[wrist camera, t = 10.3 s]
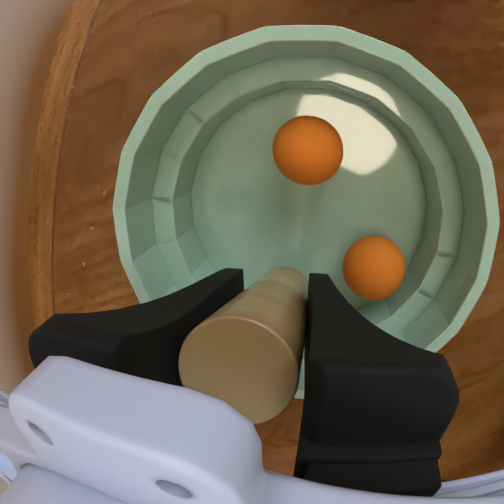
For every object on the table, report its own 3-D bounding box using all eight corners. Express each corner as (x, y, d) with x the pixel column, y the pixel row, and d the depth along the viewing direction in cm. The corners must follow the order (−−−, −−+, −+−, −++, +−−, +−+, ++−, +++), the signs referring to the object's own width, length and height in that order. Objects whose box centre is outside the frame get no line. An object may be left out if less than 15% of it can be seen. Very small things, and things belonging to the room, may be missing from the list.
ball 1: (340, 160, 14) (342, 201, 12) (278, 158, 14) (271, 198, 13) (342, 105, 12) (347, 139, 10) (273, 104, 12) (264, 136, 11)
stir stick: (307, 321, 14) (288, 435, 6) (255, 314, 15) (176, 411, 6) (314, 269, 14) (308, 326, 6) (261, 263, 15) (179, 305, 6)
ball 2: (393, 283, 15) (405, 313, 12) (338, 281, 15) (340, 311, 13) (401, 229, 14) (417, 250, 11) (342, 226, 14) (347, 246, 12)
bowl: (423, 338, 16) (445, 399, 12) (183, 322, 19) (146, 375, 14) (453, 74, 11) (504, 56, 7) (162, 71, 14) (103, 55, 9)
